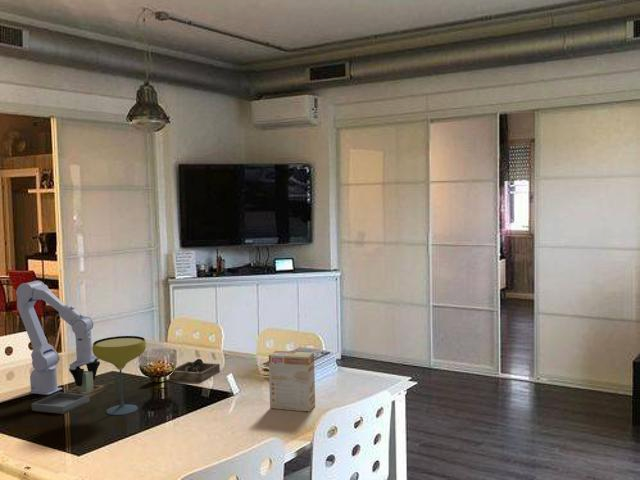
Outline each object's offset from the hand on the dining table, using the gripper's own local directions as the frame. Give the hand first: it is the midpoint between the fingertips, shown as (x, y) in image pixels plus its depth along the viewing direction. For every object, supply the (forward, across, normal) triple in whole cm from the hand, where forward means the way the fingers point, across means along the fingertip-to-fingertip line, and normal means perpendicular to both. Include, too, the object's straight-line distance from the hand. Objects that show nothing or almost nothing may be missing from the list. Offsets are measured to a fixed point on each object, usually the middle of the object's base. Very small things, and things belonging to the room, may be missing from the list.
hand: (85, 382), depth 248 cm
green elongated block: (+4, 0, 0) cm, 4 cm away
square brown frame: (+4, 0, 0) cm, 4 cm away
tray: (+4, -16, -2) cm, 17 cm away
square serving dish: (+4, +32, -30) cm, 44 cm away
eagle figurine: (+4, +33, -30) cm, 44 cm away
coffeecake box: (+4, +5, -85) cm, 85 cm away
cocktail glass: (+4, -14, -27) cm, 31 cm away
